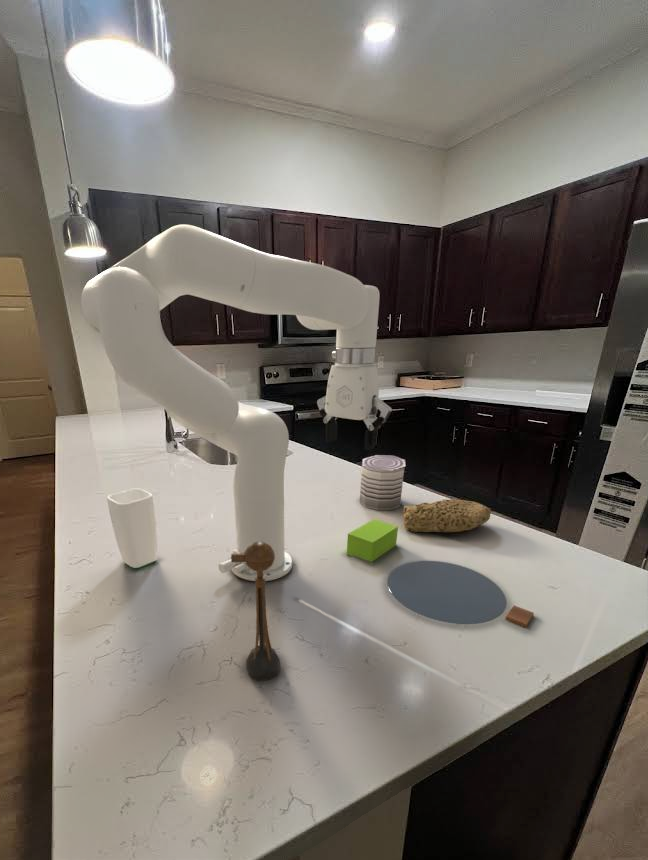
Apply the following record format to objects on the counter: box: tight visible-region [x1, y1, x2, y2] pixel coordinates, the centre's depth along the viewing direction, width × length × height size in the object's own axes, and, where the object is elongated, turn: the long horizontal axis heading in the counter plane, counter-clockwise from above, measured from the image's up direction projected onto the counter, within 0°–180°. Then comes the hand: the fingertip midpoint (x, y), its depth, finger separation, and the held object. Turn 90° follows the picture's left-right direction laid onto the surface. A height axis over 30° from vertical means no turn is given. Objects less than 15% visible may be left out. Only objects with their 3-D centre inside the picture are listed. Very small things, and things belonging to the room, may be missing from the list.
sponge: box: [402, 498, 492, 533], centre depth 99 cm, size 13×8×20 cm
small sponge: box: [346, 518, 399, 563], centre depth 89 cm, size 10×6×5 cm, turn 135°
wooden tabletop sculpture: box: [230, 542, 281, 681], centre depth 55 cm, size 6×5×20 cm
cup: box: [106, 487, 158, 569], centre depth 85 cm, size 7×7×15 cm
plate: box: [386, 560, 507, 625], centre depth 76 cm, size 20×20×1 cm
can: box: [359, 454, 406, 511], centre depth 113 cm, size 11×11×12 cm
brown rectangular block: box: [504, 605, 535, 628], centre depth 68 cm, size 4×3×1 cm
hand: (349, 444), depth 88 cm, fingers open, 9 cm apart
